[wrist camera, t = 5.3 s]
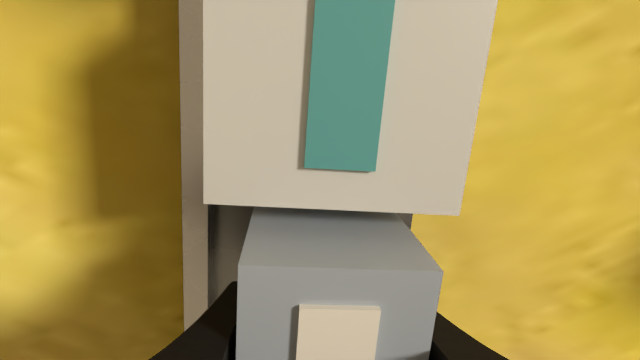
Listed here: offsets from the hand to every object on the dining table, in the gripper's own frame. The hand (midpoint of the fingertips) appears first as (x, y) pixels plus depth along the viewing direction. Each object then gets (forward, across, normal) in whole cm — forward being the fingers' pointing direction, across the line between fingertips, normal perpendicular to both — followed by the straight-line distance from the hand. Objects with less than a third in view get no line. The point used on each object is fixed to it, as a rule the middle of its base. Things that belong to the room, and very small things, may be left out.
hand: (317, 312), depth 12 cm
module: (+3, 0, -7) cm, 7 cm away
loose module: (+2, 0, 0) cm, 2 cm away
